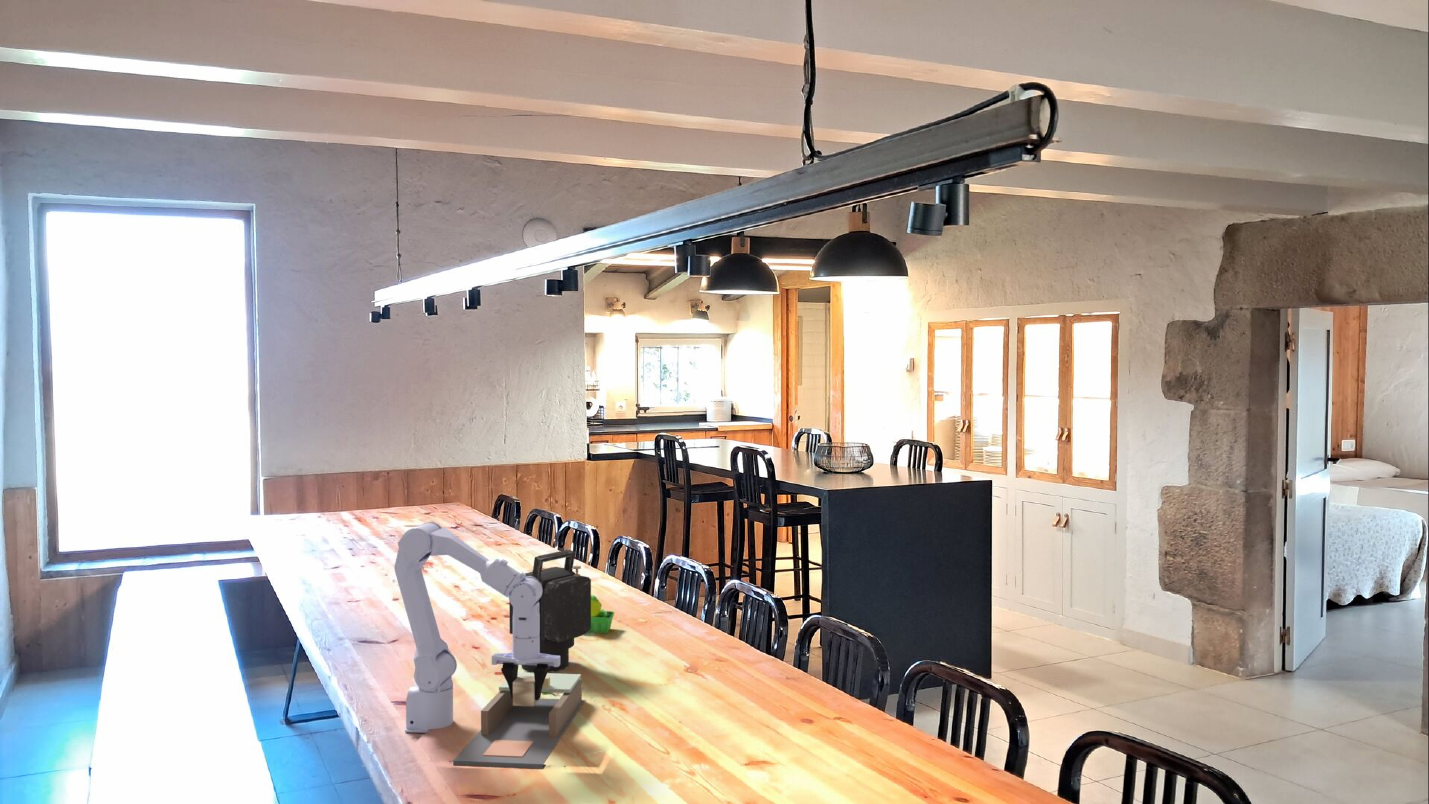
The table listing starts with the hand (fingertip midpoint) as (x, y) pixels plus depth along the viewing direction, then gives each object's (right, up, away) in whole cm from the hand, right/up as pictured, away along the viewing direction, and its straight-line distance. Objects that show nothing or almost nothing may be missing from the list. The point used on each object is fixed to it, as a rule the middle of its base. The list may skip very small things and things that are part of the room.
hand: (526, 698), depth 217 cm
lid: (+1, 0, +12) cm, 12 cm away
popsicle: (+1, -7, +28) cm, 28 cm away
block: (0, -1, 0) cm, 1 cm away
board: (0, -7, 0) cm, 7 cm away
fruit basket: (+5, -5, +82) cm, 82 cm away
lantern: (-3, -6, +47) cm, 47 cm away
